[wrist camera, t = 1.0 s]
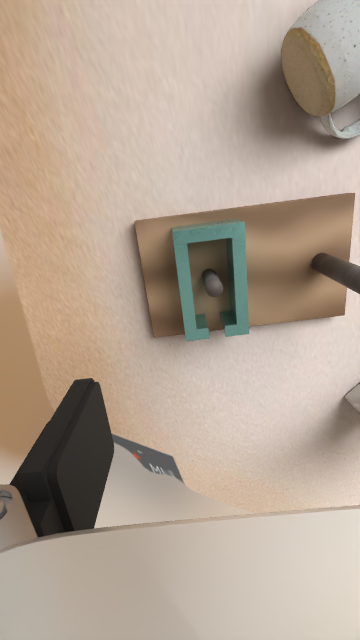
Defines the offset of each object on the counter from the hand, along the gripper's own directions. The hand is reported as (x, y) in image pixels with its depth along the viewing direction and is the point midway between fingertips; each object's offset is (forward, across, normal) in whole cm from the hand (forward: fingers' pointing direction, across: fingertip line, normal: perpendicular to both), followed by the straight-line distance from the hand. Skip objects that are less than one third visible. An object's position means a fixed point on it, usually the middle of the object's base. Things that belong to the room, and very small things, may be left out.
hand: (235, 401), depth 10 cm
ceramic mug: (+25, -14, -16) cm, 33 cm away
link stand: (+25, -5, +1) cm, 26 cm away
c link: (+24, -1, +1) cm, 24 cm away
